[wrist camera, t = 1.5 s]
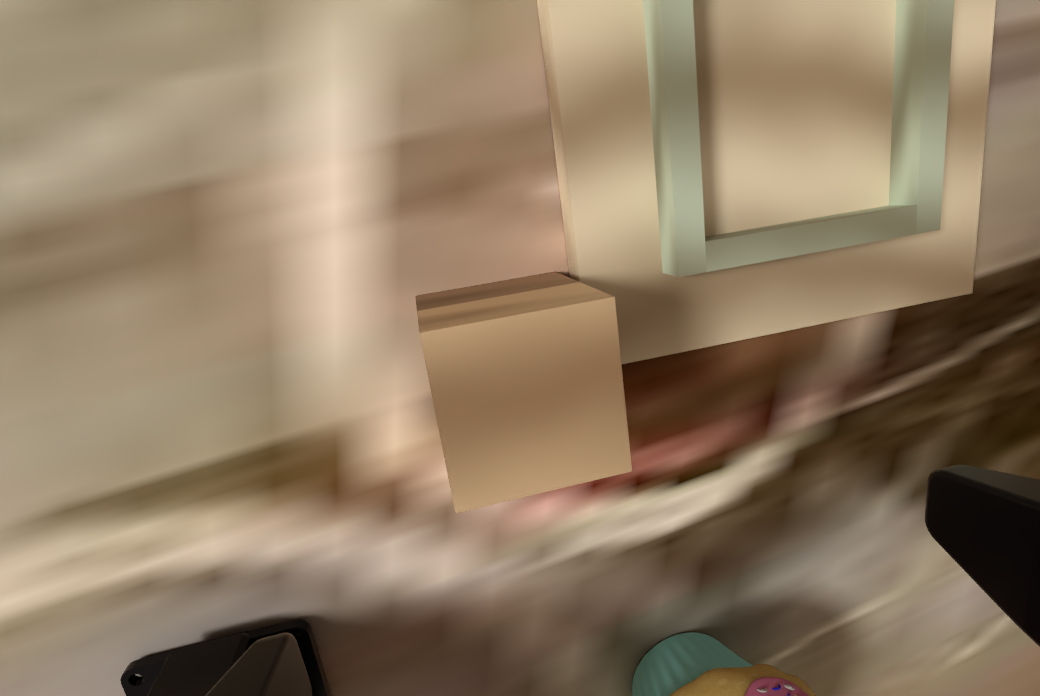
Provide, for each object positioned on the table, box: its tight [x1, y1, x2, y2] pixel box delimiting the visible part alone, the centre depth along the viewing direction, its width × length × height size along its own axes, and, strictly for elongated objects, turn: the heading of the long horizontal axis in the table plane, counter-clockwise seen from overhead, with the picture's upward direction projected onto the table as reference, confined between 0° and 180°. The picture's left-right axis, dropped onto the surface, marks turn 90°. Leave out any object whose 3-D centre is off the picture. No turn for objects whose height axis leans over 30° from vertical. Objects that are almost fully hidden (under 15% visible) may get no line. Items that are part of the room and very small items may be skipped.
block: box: [416, 272, 632, 513], centre depth 17 cm, size 5×5×6 cm
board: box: [537, 0, 996, 364], centre depth 19 cm, size 16×16×2 cm
